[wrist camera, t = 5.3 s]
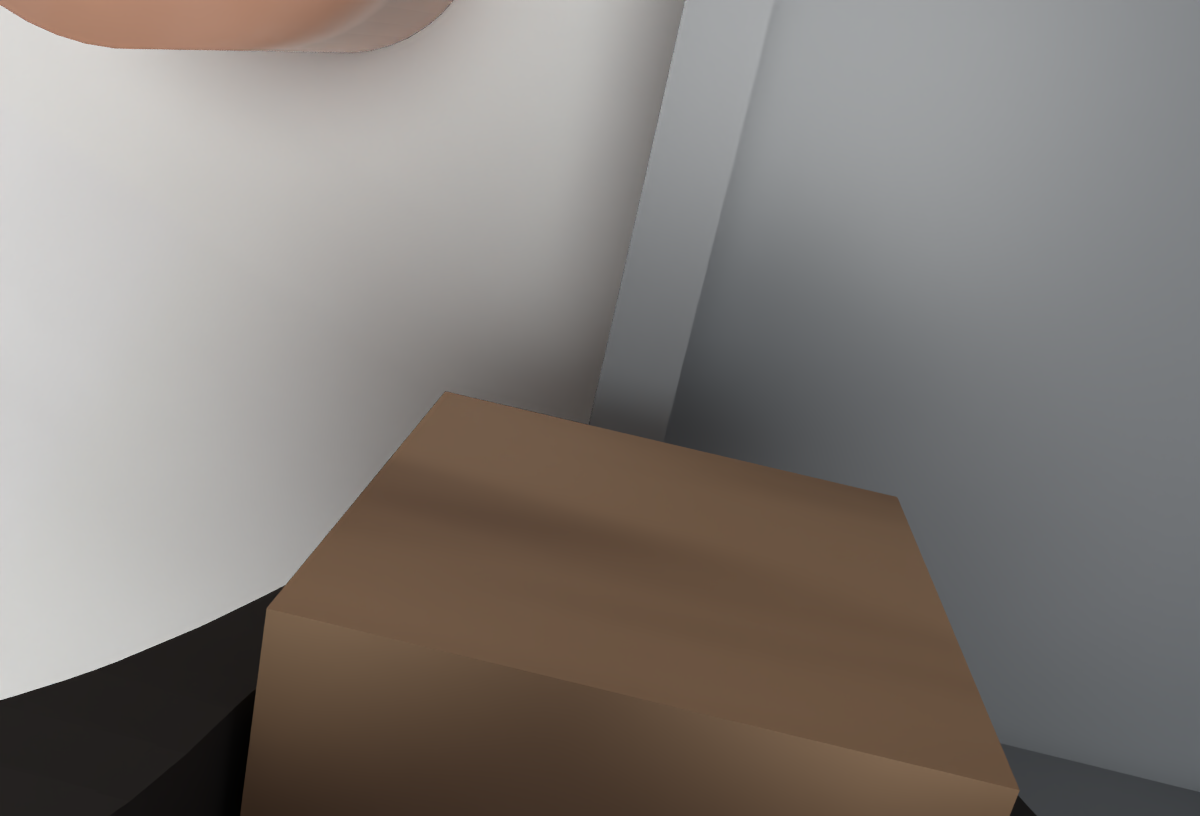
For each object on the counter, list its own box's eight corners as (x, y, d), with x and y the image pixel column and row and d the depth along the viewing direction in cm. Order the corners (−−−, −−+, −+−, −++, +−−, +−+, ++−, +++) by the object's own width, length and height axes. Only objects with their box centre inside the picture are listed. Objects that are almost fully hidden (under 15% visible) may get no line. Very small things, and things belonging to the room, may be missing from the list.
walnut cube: (777, 868, 13) (810, 1313, 9) (379, 770, 14) (197, 1153, 9) (897, 496, 12) (1020, 789, 7) (445, 391, 12) (266, 608, 7)
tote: (1264, 827, 21) (1426, 1055, 16) (547, 651, 21) (498, 822, 16) (1792, -225, 15) (2285, -354, 10) (797, -439, 16) (834, -659, 11)
